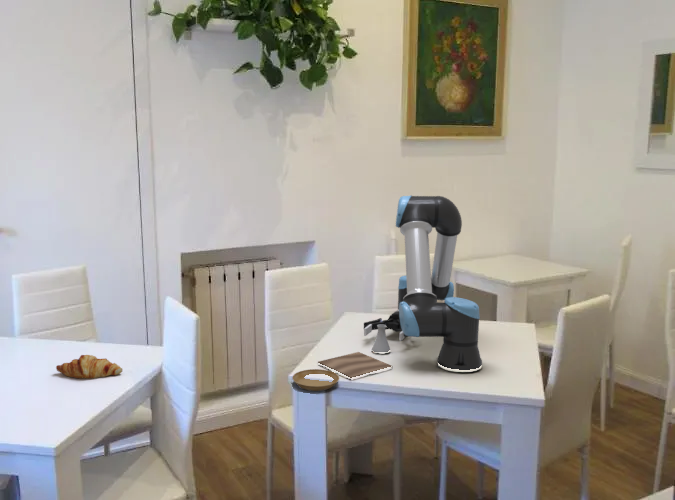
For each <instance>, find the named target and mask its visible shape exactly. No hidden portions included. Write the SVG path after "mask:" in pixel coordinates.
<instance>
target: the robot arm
mask: <svg viewBox="0 0 675 500" xmlns="http://www.w3.org/2000/svg"><path fill="white" fill-rule="evenodd" d="M396 209H397V210H396V218H395V227H396V228H398V229H399V231H400V233H401V235H403V236H404V255H405V273H406V274H405V275H402V276H400V277H399V279H398V287H397V290H398V292H397V293H398V294H397V295H398V296H397V298H398V300H397V310H395V311H394V312H393V313H391V314H389V316H388V318H387V319H384V320H383V318H381V317H380V318H377V319H372V320H369V321H365V322H363V336H364V337H366V336H368V335H369V334H370V333H372V332H373V331H376V330H377V331H378V327H377V325H380V324H383V325H386V328H385V331H386V330H392V331H393V332H397V333H399V336H398V337H399V339H398V340H399V341H400V342H402V341H403V339H406V338H408V337H415V338H421V337H422V338H423V337H424V338H425V337H427V338H431V337H432V338H443V340H442V342H443V343H442V345H441V348H440V350H439V354H438V356H437V358H436V359H437V362H438V363H439V364H440V365H442V366H444V367H447V368H451V369H459V370H470V369H476V368H479V367H480V366H481V365H482V366H483V359H482V357H481V354H480V349H479V329H480V328H479V327H480V326H479V325H480V319H481V317H480V307H479V305H478V304H477V302H475V301H474V300H473V301H472V300H470V299H466V298H461V297H456V296H455V297H454V295H455V293H454V292H455V286H454V283H453V282H452V281H451V277H452V270H453V263H454V260H455V259H454V258H455V252H456V246H457V241H458V239H457V238H458V236H459V235H460V234H461V232H462V226H463V220H462V216H461V212H460V210H459V209H458V207H457V206H456V204H455V203H454V202H453V201H452V200H450V199H449V198H448V197H444V196H440V195H435V196H434V195H412V194H411V195H403V196H400V198H399V199H398V203H397V208H396ZM433 228H435V229H434V230H435V232H437V233H436V241H435V248H434V255H433V260H432V261H433V262H432V269H431V259H430V258H431V257H430V242H429V241H430V239H429V234H430V233H432V231H433ZM440 301H444V302H440ZM437 362H436V363H437Z"/></svg>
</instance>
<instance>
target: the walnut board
mask: <svg viewBox="0 0 675 500" xmlns="http://www.w3.org/2000/svg"><path fill="white" fill-rule="evenodd" d="M318 363H320V364H322V365H325V366H327V367H329V368H331V369H334V370H336V371H338V372H340V373H342V374H344V375H346V376H348V377H350V378H352V377H356V376H360V375H363V374H366V373H370V372H373V371H377V370H380V369H384V368H387V367H391V366H392V365H391V364H389V363H386V362H383V361H381V360H379V359H377V358H374V357H372V356H369V355H367V354H365V353H362V352H359V351H357V352H353V353H349V354H344V355H341V356H336V357H331V358H328V359H323V360H319V361H317V364H318Z"/></svg>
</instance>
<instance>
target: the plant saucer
mask: <svg viewBox="0 0 675 500" xmlns="http://www.w3.org/2000/svg"><path fill="white" fill-rule="evenodd" d="M309 374H325V375H328V376H330V377H332V378H333V379H334V380H333V381H332V382H329V381H319V380H310V379H305V378H304V377H305V376H306V375H309ZM291 378H292V381H293V383H295V385H297V386H298V387H299V388H300V389H302V390H304V391H311V392H321V391H326V390H330V389H331V388H332V387H334V386H335V385H336V384H337V383H338V382H339V381H340V375H338V374H336V373H334V372H332V371H329V370H327V369H318V368H317V369H316V368H314V369H313V368H312V369H305V370H304V369H303V370H300V371H298V372H296V373H294V374H293V375H292V377H291Z"/></svg>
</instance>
